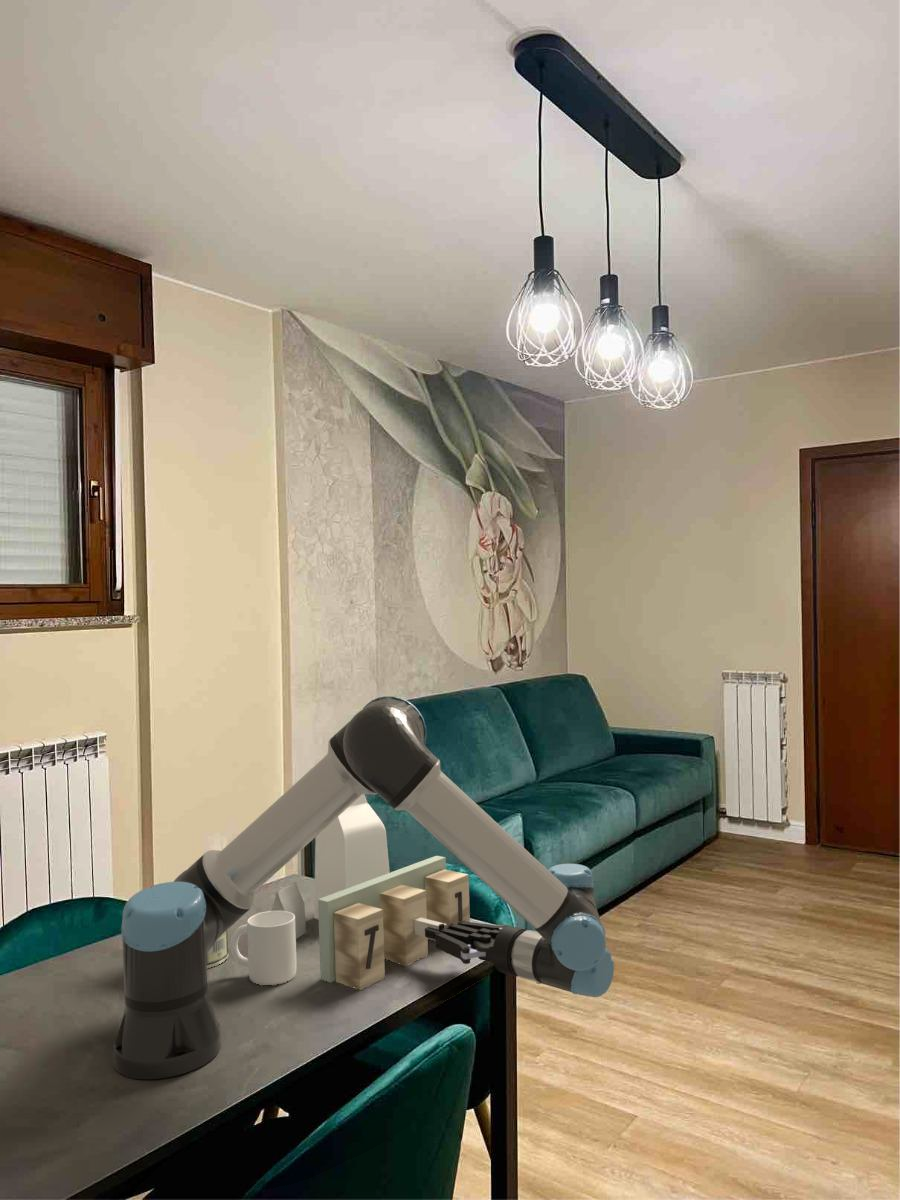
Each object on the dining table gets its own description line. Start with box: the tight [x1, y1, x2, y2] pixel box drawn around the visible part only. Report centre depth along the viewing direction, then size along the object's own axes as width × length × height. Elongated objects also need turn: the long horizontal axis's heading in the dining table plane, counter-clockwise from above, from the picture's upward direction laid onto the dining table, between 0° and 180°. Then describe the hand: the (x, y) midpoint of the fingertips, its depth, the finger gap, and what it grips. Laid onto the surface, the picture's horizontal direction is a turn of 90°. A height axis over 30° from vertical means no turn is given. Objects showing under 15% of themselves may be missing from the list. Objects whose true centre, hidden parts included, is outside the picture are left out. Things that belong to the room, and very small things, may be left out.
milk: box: [313, 794, 391, 921], centre depth 189 cm, size 12×12×26 cm
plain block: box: [380, 885, 429, 966], centre depth 167 cm, size 6×6×12 cm
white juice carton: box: [270, 881, 306, 940], centre depth 178 cm, size 4×7×10 cm, turn 159°
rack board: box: [318, 855, 447, 984], centre depth 169 cm, size 2×32×14 cm, turn 140°
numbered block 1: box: [425, 869, 471, 942], centre depth 175 cm, size 6×6×12 cm
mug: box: [229, 910, 297, 986], centre depth 160 cm, size 12×8×10 cm
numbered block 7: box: [334, 903, 386, 991], centre depth 157 cm, size 6×6×12 cm
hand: (417, 925), depth 165 cm, fingers closed
